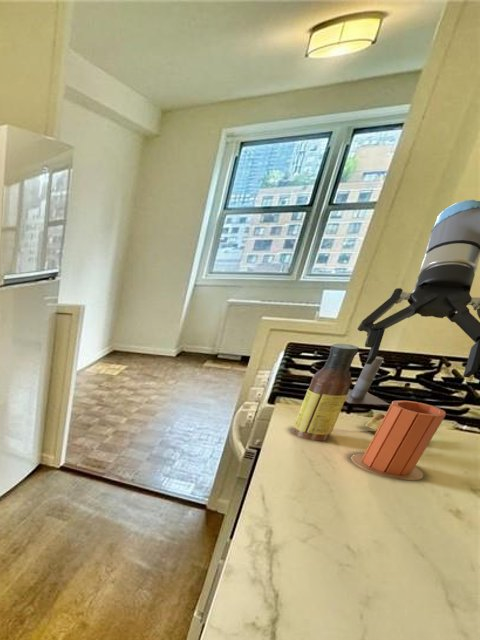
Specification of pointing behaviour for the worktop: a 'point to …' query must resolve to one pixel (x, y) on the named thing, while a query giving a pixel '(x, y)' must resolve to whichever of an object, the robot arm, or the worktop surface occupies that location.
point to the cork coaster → (414, 475)
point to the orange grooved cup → (403, 437)
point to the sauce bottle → (326, 395)
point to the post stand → (366, 385)
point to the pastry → (375, 422)
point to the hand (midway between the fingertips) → (418, 367)
